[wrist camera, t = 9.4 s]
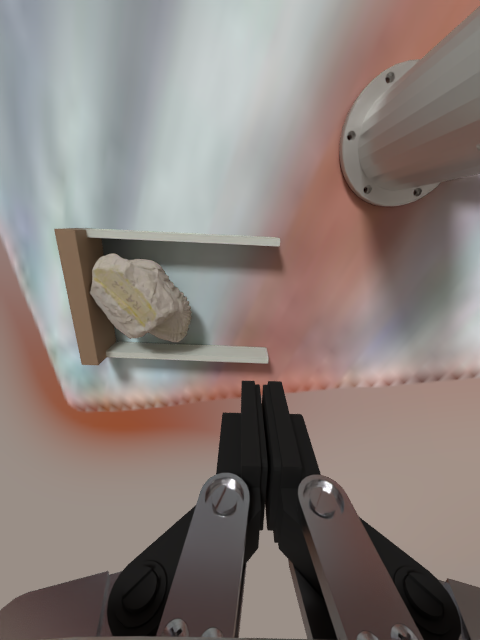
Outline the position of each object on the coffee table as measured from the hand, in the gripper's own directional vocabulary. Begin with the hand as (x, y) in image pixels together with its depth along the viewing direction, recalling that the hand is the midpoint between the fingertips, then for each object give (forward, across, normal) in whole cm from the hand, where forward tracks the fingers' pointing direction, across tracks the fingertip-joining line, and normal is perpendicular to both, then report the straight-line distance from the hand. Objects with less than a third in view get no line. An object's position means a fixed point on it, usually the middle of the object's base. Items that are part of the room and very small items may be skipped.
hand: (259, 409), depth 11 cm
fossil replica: (+23, +12, +2) cm, 26 cm away
